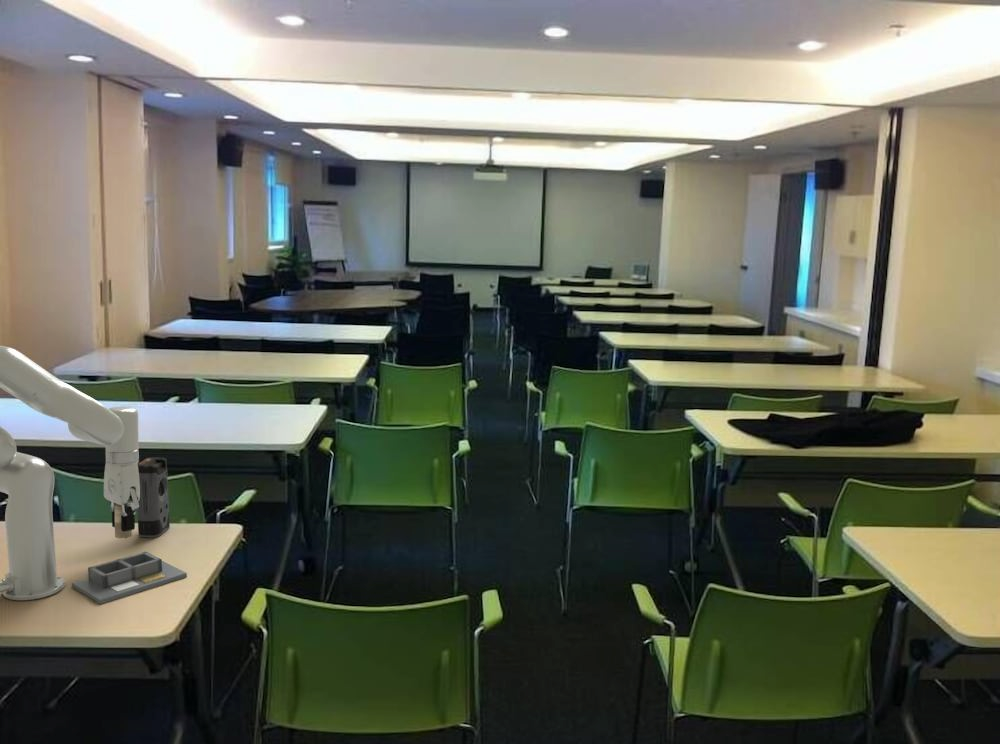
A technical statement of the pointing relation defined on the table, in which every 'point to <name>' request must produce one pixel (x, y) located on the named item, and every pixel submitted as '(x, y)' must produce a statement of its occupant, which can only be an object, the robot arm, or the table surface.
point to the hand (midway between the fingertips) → (123, 527)
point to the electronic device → (153, 497)
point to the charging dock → (126, 577)
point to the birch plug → (118, 523)
